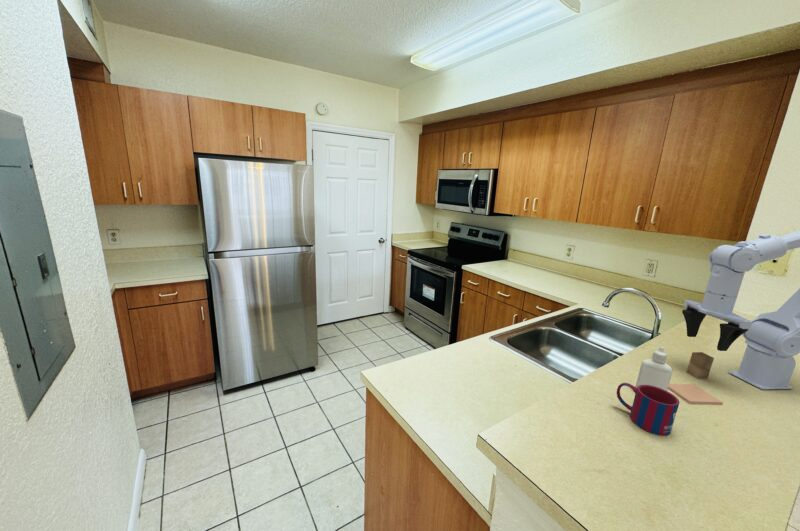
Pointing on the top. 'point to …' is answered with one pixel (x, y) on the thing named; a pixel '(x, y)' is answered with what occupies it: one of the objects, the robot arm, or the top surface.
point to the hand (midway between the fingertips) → (705, 343)
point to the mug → (652, 408)
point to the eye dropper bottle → (655, 371)
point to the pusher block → (700, 365)
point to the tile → (693, 394)
